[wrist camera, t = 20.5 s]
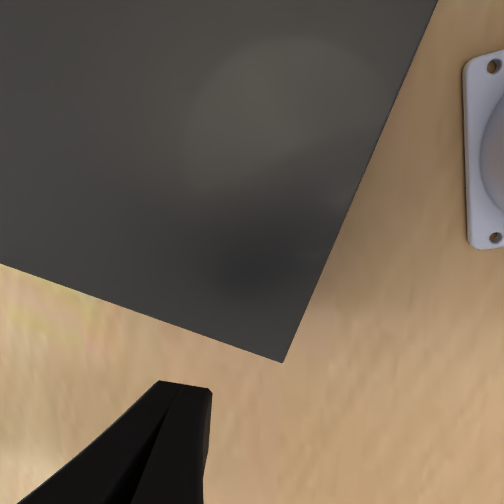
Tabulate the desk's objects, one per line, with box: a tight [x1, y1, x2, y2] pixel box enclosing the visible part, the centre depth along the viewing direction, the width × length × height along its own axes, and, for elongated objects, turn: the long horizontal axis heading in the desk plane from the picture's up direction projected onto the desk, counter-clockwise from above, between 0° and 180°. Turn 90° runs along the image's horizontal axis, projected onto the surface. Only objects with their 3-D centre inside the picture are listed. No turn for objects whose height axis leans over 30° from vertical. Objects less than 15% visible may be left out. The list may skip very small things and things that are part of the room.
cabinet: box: [0, 0, 438, 363], centre depth 14 cm, size 15×14×5 cm
